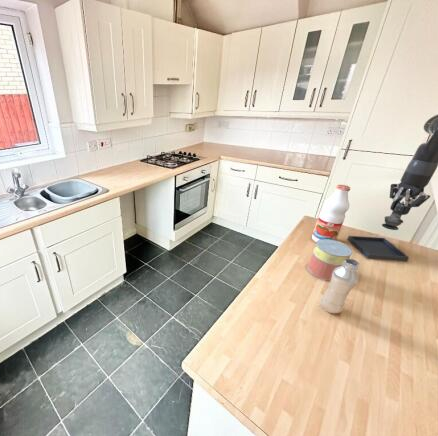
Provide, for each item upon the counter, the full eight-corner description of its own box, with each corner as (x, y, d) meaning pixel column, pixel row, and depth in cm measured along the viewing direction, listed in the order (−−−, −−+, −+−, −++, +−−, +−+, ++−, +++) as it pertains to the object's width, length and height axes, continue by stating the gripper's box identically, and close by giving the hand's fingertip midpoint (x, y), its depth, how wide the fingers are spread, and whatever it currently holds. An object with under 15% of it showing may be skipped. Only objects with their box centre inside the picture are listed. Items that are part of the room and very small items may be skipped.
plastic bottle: (344, 310, 81) (369, 263, 72) (335, 319, 78) (360, 272, 69) (323, 298, 86) (344, 252, 77) (314, 306, 83) (334, 260, 73)
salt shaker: (377, 223, 106) (389, 198, 100) (391, 223, 105) (404, 198, 100) (388, 230, 100) (402, 204, 95) (403, 230, 100) (418, 204, 95)
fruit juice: (335, 239, 118) (357, 185, 105) (333, 248, 112) (357, 192, 99) (312, 233, 124) (331, 181, 110) (309, 241, 117) (329, 187, 104)
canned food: (321, 260, 105) (330, 236, 99) (347, 277, 95) (359, 252, 90) (301, 265, 102) (309, 242, 96) (326, 283, 92) (337, 258, 86)
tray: (382, 241, 116) (384, 237, 115) (407, 261, 103) (409, 257, 102) (347, 239, 118) (349, 235, 117) (367, 258, 105) (369, 254, 104)
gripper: (450, 177, 85) (424, 220, 93) (410, 166, 98) (391, 204, 106) (429, 178, 85) (405, 220, 93) (392, 166, 98) (374, 205, 106)
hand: (397, 211), depth 100 cm, fingers closed on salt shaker, 3 cm apart
